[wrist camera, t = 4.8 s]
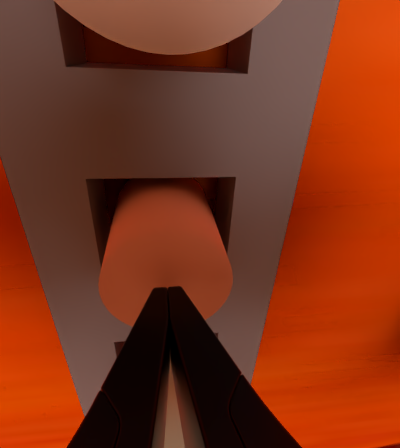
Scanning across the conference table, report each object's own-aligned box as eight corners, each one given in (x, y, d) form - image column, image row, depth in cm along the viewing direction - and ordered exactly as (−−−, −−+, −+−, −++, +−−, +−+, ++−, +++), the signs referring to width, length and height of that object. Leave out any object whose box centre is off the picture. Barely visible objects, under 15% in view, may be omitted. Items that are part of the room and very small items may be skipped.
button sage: (221, 359, 16) (244, 468, 12) (168, 394, 17) (173, 504, 13) (167, 328, 14) (173, 445, 10) (112, 370, 16) (97, 491, 11)
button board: (236, 355, 21) (247, 397, 19) (93, 369, 20) (84, 417, 17) (330, -195, 8) (409, -304, 6) (-66, -265, 7) (-197, -451, 4)
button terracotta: (226, 209, 14) (258, 281, 10) (164, 261, 15) (169, 346, 11) (161, 147, 12) (166, 203, 8) (96, 213, 13) (69, 293, 9)
